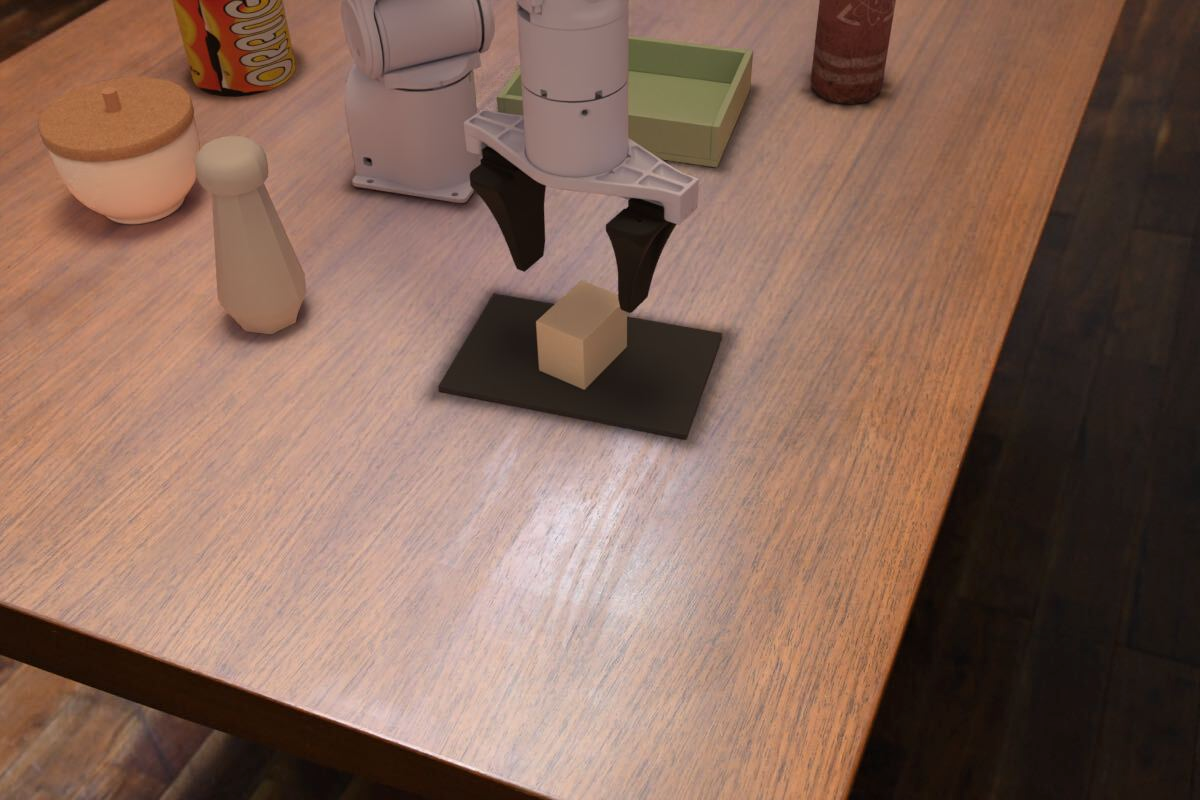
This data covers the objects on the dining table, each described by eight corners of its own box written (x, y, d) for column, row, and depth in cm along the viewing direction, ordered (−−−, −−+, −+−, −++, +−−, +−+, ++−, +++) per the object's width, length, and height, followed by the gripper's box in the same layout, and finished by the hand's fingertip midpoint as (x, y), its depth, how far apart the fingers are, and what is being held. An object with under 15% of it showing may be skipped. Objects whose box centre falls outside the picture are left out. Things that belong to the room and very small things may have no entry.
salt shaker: (237, 353, 79) (189, 182, 70) (215, 305, 83) (166, 137, 74) (323, 325, 81) (287, 156, 72) (298, 280, 85) (260, 114, 76)
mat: (438, 391, 76) (437, 386, 76) (493, 297, 83) (493, 292, 83) (686, 439, 73) (686, 434, 72) (722, 337, 80) (722, 332, 79)
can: (893, 81, 105) (920, -82, 96) (864, 112, 101) (889, -54, 92) (829, 64, 108) (849, -96, 98) (798, 94, 104) (815, -70, 94)
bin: (499, 136, 99) (496, 96, 97) (550, 63, 108) (548, 25, 106) (716, 167, 95) (719, 127, 93) (750, 89, 104) (753, 50, 102)
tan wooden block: (538, 370, 77) (535, 321, 74) (582, 328, 80) (581, 279, 77) (584, 390, 75) (583, 340, 73) (627, 346, 78) (627, 297, 76)
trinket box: (177, 249, 88) (142, 135, 82) (43, 234, 90) (-2, 121, 83) (238, 171, 96) (210, 61, 89) (114, 159, 97) (78, 50, 91)
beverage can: (174, 91, 106) (137, -45, 98) (220, 44, 112) (189, -87, 104) (270, 100, 104) (240, -37, 96) (311, 53, 111) (286, -79, 102)
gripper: (731, 80, 64) (717, 286, 73) (509, 16, 70) (522, 215, 79) (662, 138, 59) (657, 350, 69) (431, 65, 65) (455, 269, 75)
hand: (581, 282), depth 73 cm, fingers open, 7 cm apart
